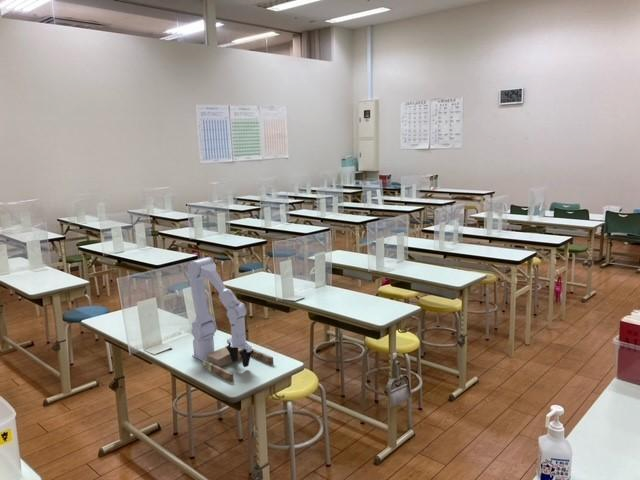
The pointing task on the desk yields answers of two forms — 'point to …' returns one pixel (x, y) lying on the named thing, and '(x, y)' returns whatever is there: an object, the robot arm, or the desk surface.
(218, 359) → the brick
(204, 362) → the lane
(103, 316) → the desk surface
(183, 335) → the desk surface
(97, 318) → the desk surface
